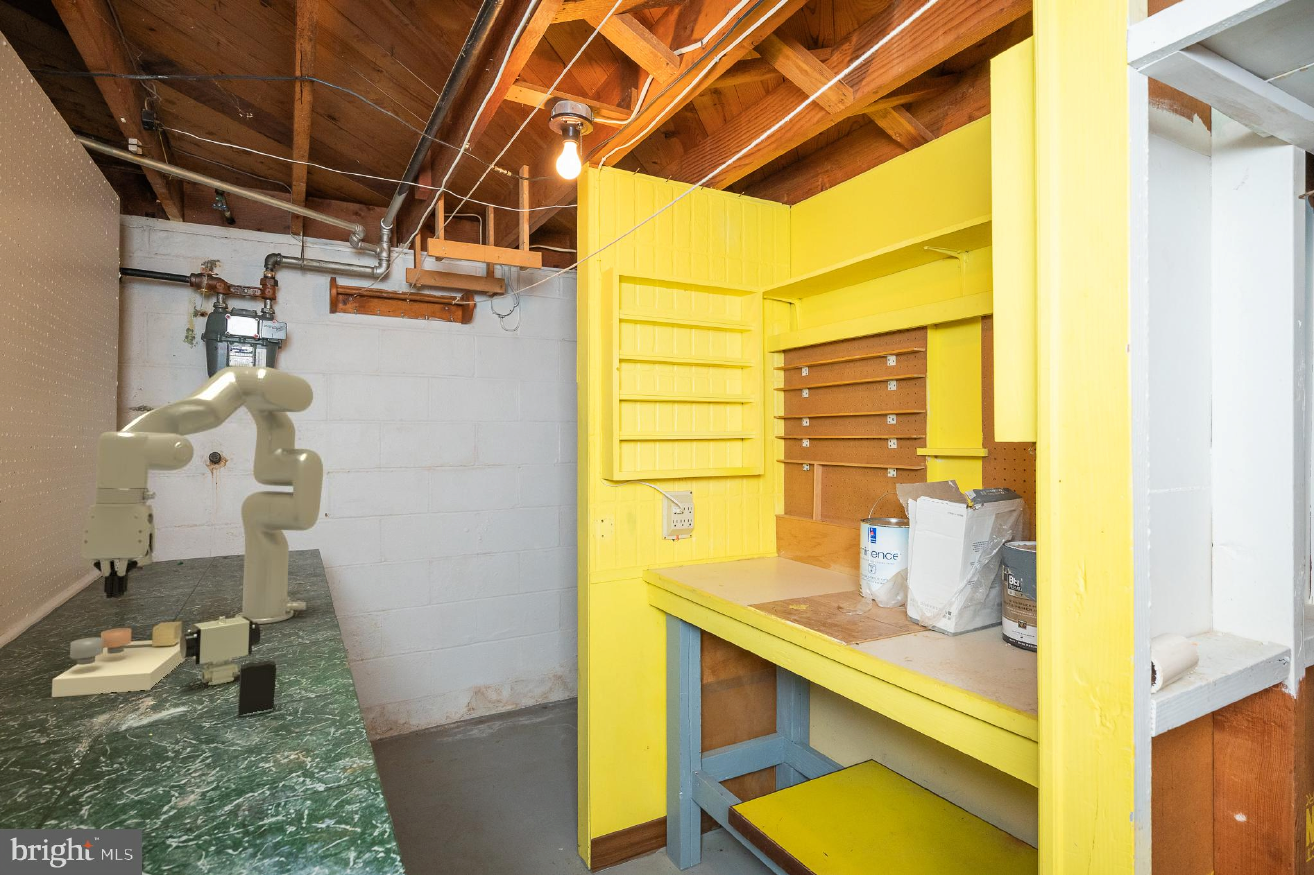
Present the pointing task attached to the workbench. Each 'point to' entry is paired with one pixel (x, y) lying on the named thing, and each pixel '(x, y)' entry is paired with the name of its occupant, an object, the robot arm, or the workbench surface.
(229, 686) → the workbench surface
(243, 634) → the pneumatic valve
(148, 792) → the workbench surface
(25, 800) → the workbench surface
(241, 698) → the ink cartridge
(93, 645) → the grey button
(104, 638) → the terracotta button
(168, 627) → the brass slider
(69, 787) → the workbench surface
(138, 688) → the control panel
